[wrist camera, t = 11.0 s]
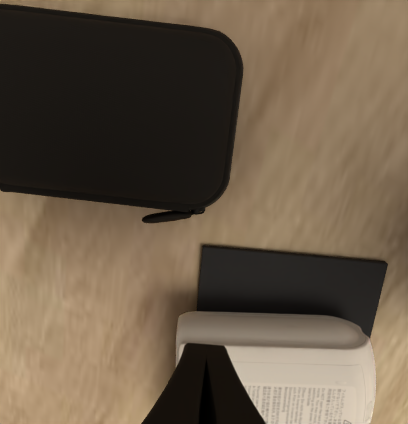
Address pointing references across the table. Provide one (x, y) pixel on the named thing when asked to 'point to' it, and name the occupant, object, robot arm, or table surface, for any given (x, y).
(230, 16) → the table surface
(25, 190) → the carrying case
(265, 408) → the photo printer
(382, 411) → the table surface
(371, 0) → the table surface
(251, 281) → the desk pad
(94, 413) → the table surface
